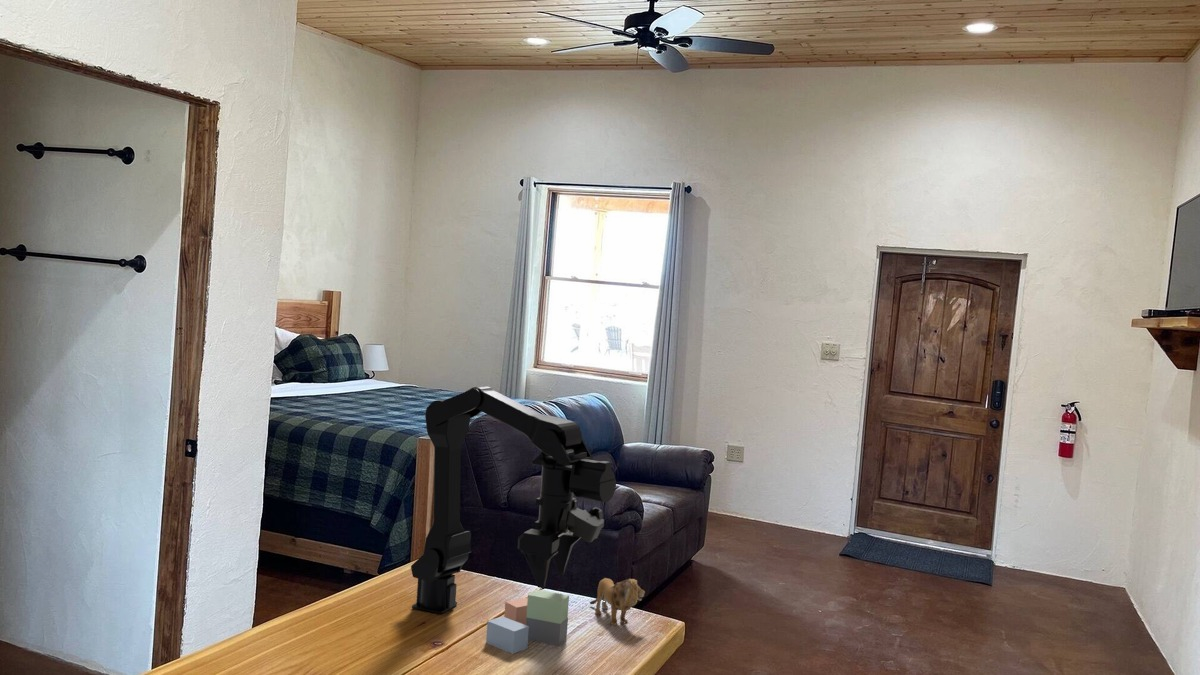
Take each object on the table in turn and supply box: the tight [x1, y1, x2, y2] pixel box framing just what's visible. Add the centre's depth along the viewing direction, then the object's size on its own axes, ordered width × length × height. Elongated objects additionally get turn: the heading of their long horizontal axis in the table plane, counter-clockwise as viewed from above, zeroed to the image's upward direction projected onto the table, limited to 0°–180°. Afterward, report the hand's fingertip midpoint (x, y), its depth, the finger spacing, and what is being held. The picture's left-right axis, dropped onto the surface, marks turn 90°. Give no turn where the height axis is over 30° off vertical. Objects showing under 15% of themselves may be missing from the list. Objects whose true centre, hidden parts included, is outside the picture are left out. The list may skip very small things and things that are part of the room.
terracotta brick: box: [503, 596, 528, 625], centre depth 172 cm, size 6×4×4 cm, turn 131°
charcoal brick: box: [526, 617, 569, 647], centre depth 164 cm, size 6×4×4 cm, turn 71°
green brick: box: [526, 588, 570, 624], centre depth 164 cm, size 6×4×4 cm, turn 71°
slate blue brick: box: [485, 616, 529, 655], centre depth 160 cm, size 6×4×4 cm, turn 51°
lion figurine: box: [589, 577, 646, 626], centre depth 178 cm, size 15×5×9 cm, turn 36°
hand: (550, 580), depth 164 cm, fingers open, 9 cm apart
